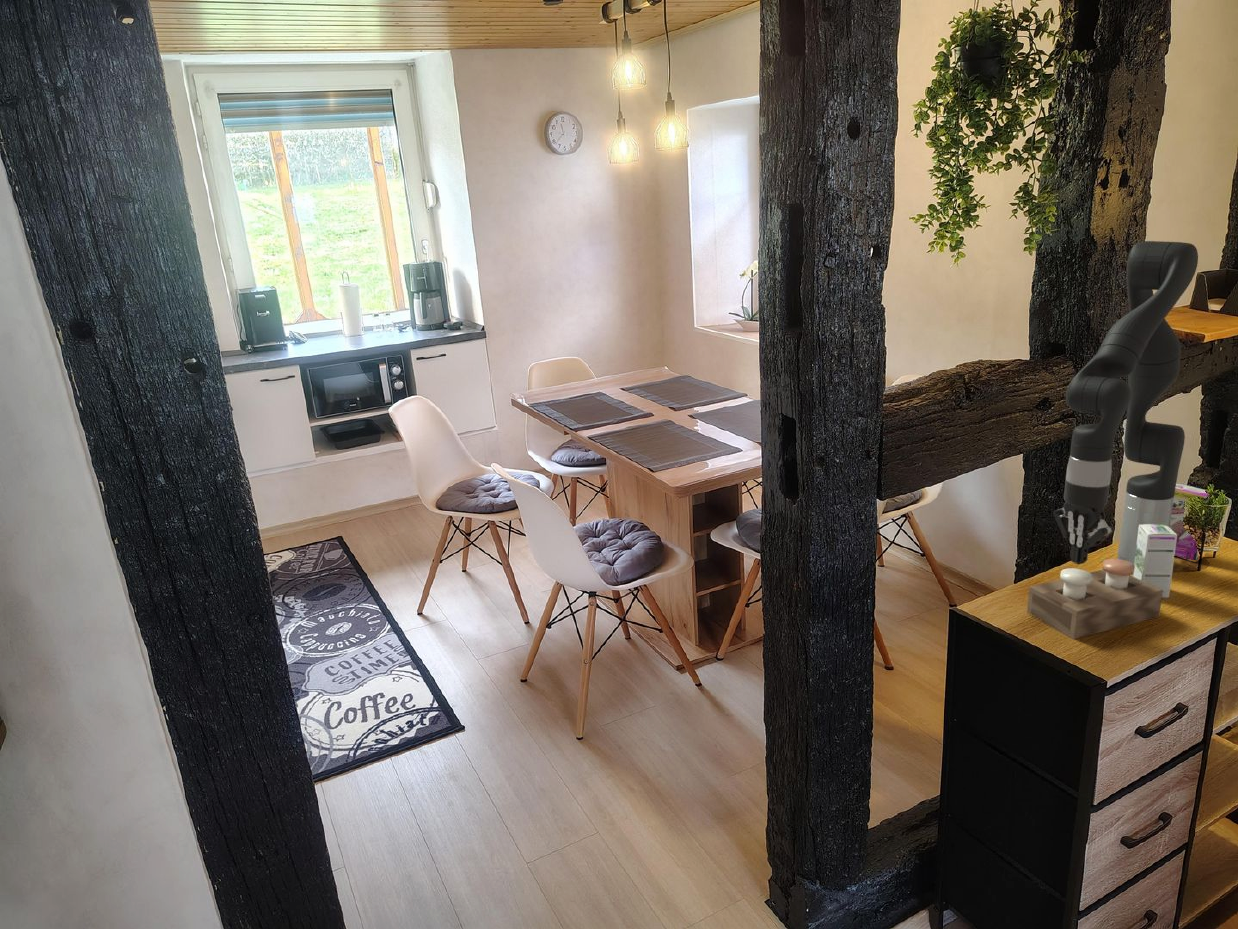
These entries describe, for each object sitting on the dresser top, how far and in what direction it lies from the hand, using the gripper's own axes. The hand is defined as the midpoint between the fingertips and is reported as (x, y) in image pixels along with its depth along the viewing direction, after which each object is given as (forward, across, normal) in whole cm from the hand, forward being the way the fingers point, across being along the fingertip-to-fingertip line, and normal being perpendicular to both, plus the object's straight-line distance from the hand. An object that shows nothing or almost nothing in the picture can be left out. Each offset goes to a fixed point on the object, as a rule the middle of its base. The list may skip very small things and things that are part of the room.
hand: (1077, 562), depth 170 cm
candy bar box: (+13, +15, -47) cm, 51 cm away
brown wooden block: (+13, 0, -6) cm, 14 cm away
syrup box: (+13, +3, -25) cm, 28 cm away
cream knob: (+10, 0, 0) cm, 10 cm away
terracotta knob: (+10, 0, -11) cm, 15 cm away
